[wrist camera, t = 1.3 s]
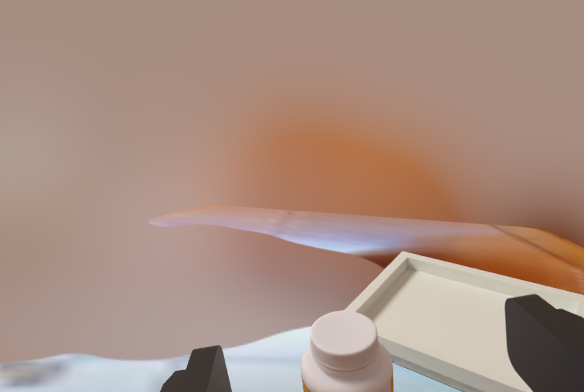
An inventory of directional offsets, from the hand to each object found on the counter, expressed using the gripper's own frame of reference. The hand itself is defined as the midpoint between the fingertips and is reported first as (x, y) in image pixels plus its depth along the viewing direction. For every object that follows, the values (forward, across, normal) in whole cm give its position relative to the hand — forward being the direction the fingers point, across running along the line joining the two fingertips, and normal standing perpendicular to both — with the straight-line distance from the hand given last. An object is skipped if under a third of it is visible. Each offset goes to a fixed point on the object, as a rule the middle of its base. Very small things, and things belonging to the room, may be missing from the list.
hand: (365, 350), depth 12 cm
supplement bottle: (+14, 0, +17) cm, 22 cm away
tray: (+24, -12, +16) cm, 31 cm away
